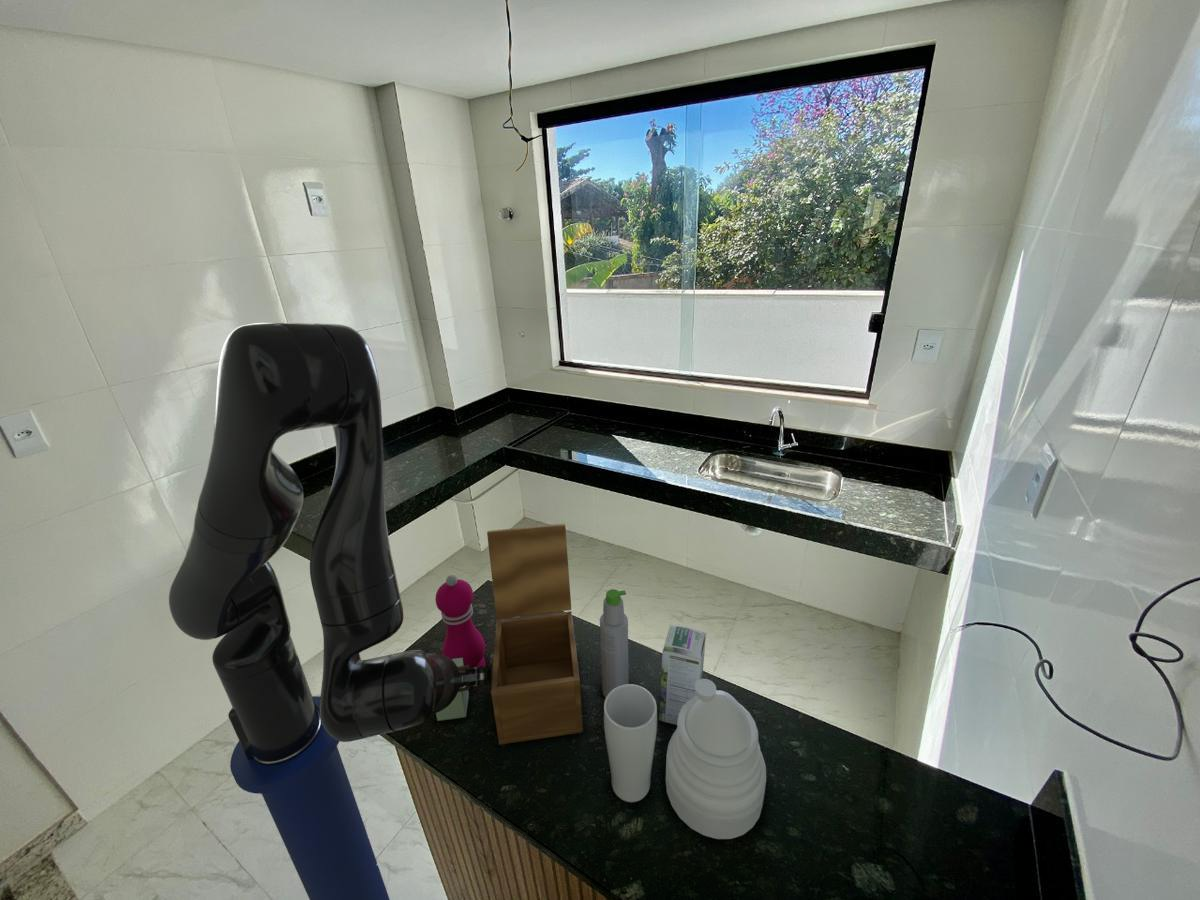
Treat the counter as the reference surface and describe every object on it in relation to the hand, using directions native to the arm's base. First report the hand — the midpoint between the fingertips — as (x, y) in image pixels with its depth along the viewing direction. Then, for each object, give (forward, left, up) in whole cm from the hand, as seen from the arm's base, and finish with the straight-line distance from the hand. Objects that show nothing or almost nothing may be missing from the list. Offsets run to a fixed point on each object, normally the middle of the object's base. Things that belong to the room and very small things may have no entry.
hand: (450, 679), depth 78 cm
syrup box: (+36, -8, -5) cm, 37 cm away
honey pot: (+37, -20, -5) cm, 42 cm away
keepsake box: (+14, -2, -5) cm, 15 cm away
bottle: (+26, -2, -5) cm, 27 cm away
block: (0, -1, -5) cm, 5 cm away
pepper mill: (+1, +6, -5) cm, 8 cm away
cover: (+14, +6, +14) cm, 21 cm away
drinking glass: (+26, -18, -5) cm, 32 cm away
